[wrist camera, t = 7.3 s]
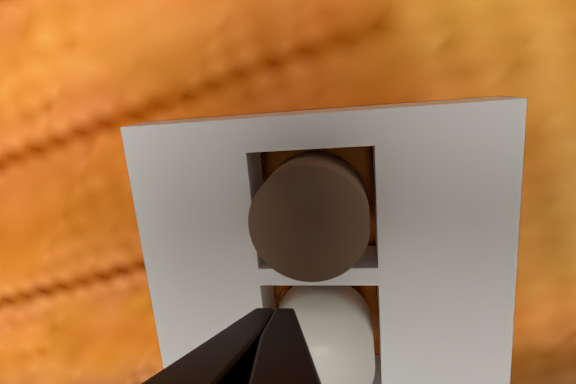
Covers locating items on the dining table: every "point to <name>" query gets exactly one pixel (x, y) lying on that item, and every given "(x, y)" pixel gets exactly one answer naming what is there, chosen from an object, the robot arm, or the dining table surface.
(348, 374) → the key ivory
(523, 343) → the dining table surface
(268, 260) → the key walnut
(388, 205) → the keypad
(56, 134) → the dining table surface
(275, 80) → the dining table surface
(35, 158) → the dining table surface
